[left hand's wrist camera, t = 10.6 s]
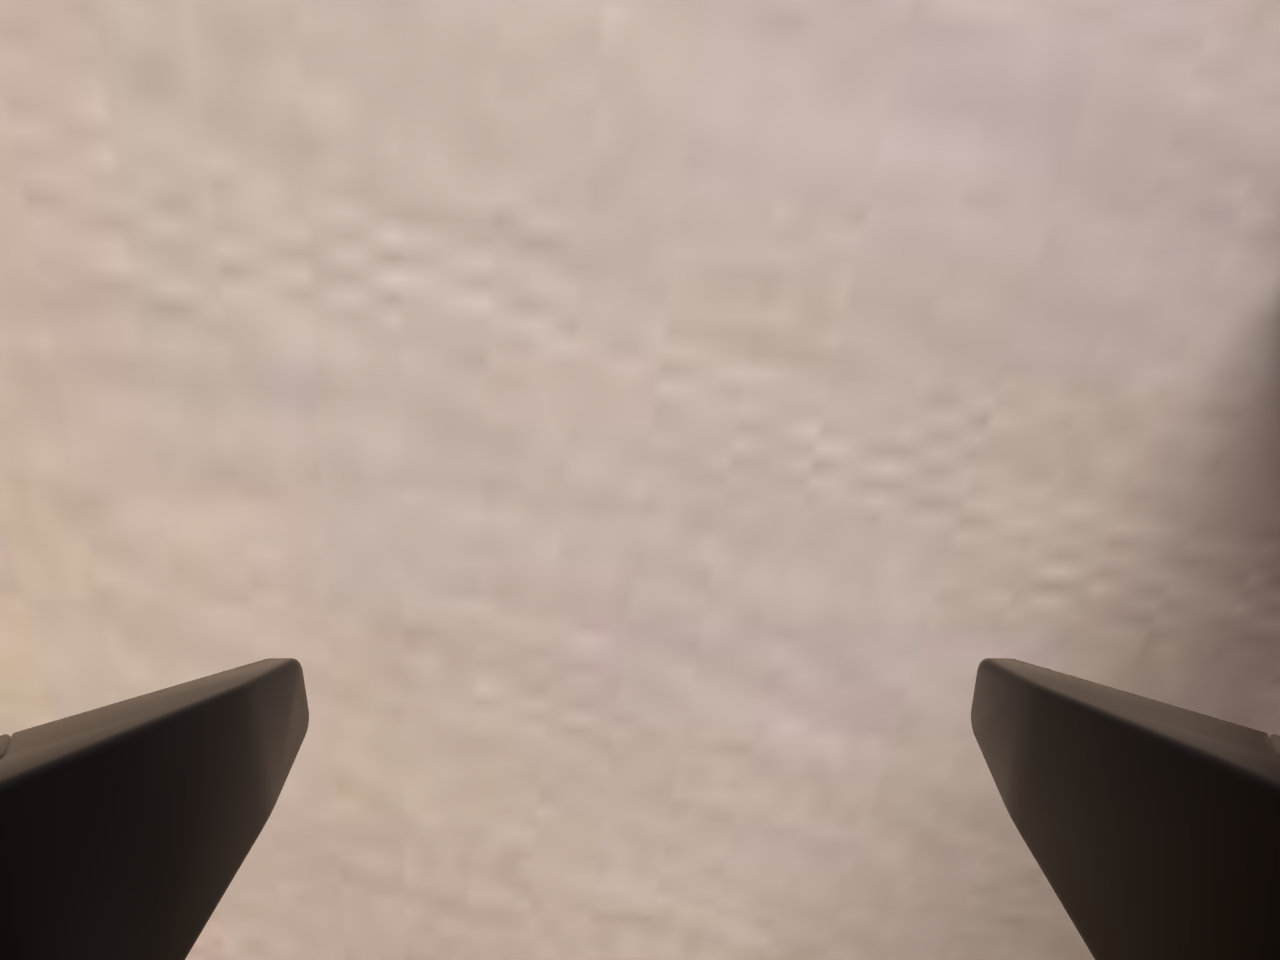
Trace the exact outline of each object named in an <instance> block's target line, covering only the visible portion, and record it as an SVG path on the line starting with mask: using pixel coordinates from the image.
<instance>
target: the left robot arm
mask: <svg viewBox="0 0 1280 960" xmlns="http://www.w3.org/2000/svg"><path fill="white" fill-rule="evenodd" d="M308 722H309V710H308V703H307V697H306V690H305V684H304V677H303V671H302V667H301V665H300V663H299V662H298V661H297V660H296V659H292V658H277V659H265V660H261V661H258V662H254V663H251V664H248V665H244V666H241V667H237V668H234V669H230V670H227V671H224V672H220V673H217V674H213V675H210V676H207V677H203V678H200V679H196V680H193V681H189V682H186V683H183V684H179V685H176V686H172V687H169V688H166V689H162V690H159V691H155V692H152V693H149V694H145V695H142V696H138V697H135V698H131V699H128V700H125V701H121V702H118V703H114V704H111V705H108V706H104V707H101V708H97V709H94V710H90V711H87V712H84V713H80V714H77V715H73V716H70V717H67V718H63V719H60V720H56V721H53V722H50V723H46V724H43V725H39V726H36V727H32V728H29V729H26V730H22V731H19V732H15V733H13V734H12V736H11V738H10V736H9V735H7V734H5V735H1V736H0V960H185V959H186V957H187V955H188V953H189V952H190V950H191V948H192V947H193V945H194V943H195V942H196V940H197V938H198V937H199V935H200V933H201V932H202V930H203V928H204V927H205V925H206V923H207V921H208V920H209V918H210V916H211V915H212V913H213V911H214V910H215V908H216V906H217V905H218V903H219V901H220V900H221V898H222V896H223V895H224V893H225V891H226V889H227V888H228V886H229V884H230V883H231V881H232V879H233V878H234V876H235V874H236V873H237V871H238V869H239V868H240V866H241V864H242V863H243V861H244V859H245V857H246V856H247V854H248V852H249V851H250V849H251V847H252V846H253V844H254V842H255V841H256V839H257V837H258V836H259V834H260V832H261V831H262V829H263V827H264V825H265V823H266V822H267V820H268V818H269V816H270V814H271V812H272V810H273V808H274V806H275V804H276V802H277V799H278V797H279V795H280V793H281V790H282V788H283V786H284V783H285V781H286V779H287V776H288V774H289V772H290V769H291V767H292V765H293V763H294V760H295V758H296V756H297V753H298V751H299V749H300V746H301V744H302V742H303V739H304V737H305V735H306V732H307V728H308ZM971 722H972V728H973V732H974V735H975V737H976V739H977V742H978V744H979V746H980V749H981V751H982V753H983V756H984V758H985V760H986V763H987V765H988V767H989V769H990V772H991V774H992V776H993V779H994V781H995V783H996V786H997V788H998V790H999V793H1000V795H1001V797H1002V799H1003V802H1004V804H1005V806H1006V808H1007V810H1008V812H1009V814H1010V816H1011V818H1012V820H1013V822H1014V823H1015V825H1016V827H1017V829H1018V831H1019V832H1020V834H1021V836H1022V837H1023V839H1024V841H1025V842H1026V844H1027V846H1028V847H1029V849H1030V851H1031V852H1032V854H1033V856H1034V857H1035V859H1036V861H1037V863H1038V864H1039V866H1040V868H1041V869H1042V871H1043V873H1044V874H1045V876H1046V878H1047V879H1048V881H1049V883H1050V884H1051V886H1052V888H1053V889H1054V891H1055V893H1056V895H1057V896H1058V898H1059V900H1060V901H1061V903H1062V905H1063V906H1064V908H1065V910H1066V911H1067V913H1068V915H1069V916H1070V918H1071V920H1072V921H1073V923H1074V925H1075V927H1076V928H1077V930H1078V932H1079V933H1080V935H1081V937H1082V938H1083V940H1084V942H1085V943H1086V945H1087V947H1088V948H1089V950H1090V952H1091V953H1092V955H1093V957H1094V959H1095V960H1280V736H1279V735H1275V734H1273V735H1271V736H1270V738H1269V736H1268V734H1267V733H1265V732H1261V731H1258V730H1254V729H1251V728H1248V727H1244V726H1241V725H1237V724H1234V723H1230V722H1227V721H1224V720H1220V719H1217V718H1213V717H1210V716H1207V715H1203V714H1200V713H1196V712H1193V711H1190V710H1186V709H1183V708H1179V707H1176V706H1172V705H1169V704H1166V703H1162V702H1159V701H1155V700H1152V699H1149V698H1145V697H1142V696H1138V695H1135V694H1131V693H1128V692H1125V691H1121V690H1118V689H1114V688H1111V687H1108V686H1104V685H1101V684H1097V683H1094V682H1091V681H1087V680H1084V679H1080V678H1077V677H1073V676H1070V675H1067V674H1063V673H1060V672H1056V671H1053V670H1050V669H1046V668H1043V667H1039V666H1036V665H1032V664H1029V663H1026V662H1022V661H1019V660H1015V659H1003V658H988V659H984V660H983V661H982V662H981V663H980V665H979V667H978V671H977V677H976V684H975V690H974V697H973V703H972V710H971Z"/></svg>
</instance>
